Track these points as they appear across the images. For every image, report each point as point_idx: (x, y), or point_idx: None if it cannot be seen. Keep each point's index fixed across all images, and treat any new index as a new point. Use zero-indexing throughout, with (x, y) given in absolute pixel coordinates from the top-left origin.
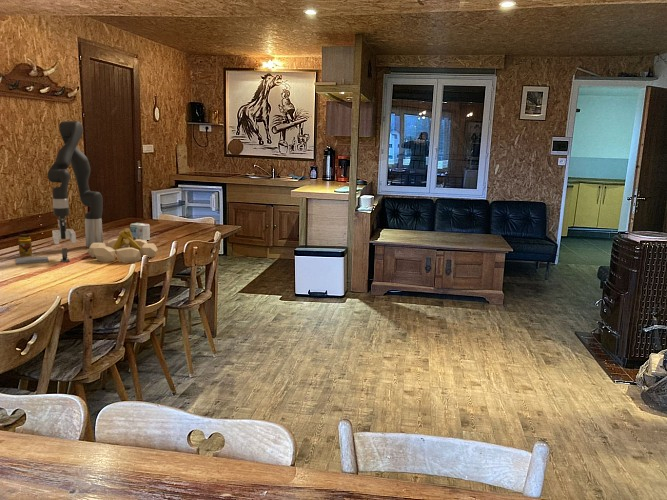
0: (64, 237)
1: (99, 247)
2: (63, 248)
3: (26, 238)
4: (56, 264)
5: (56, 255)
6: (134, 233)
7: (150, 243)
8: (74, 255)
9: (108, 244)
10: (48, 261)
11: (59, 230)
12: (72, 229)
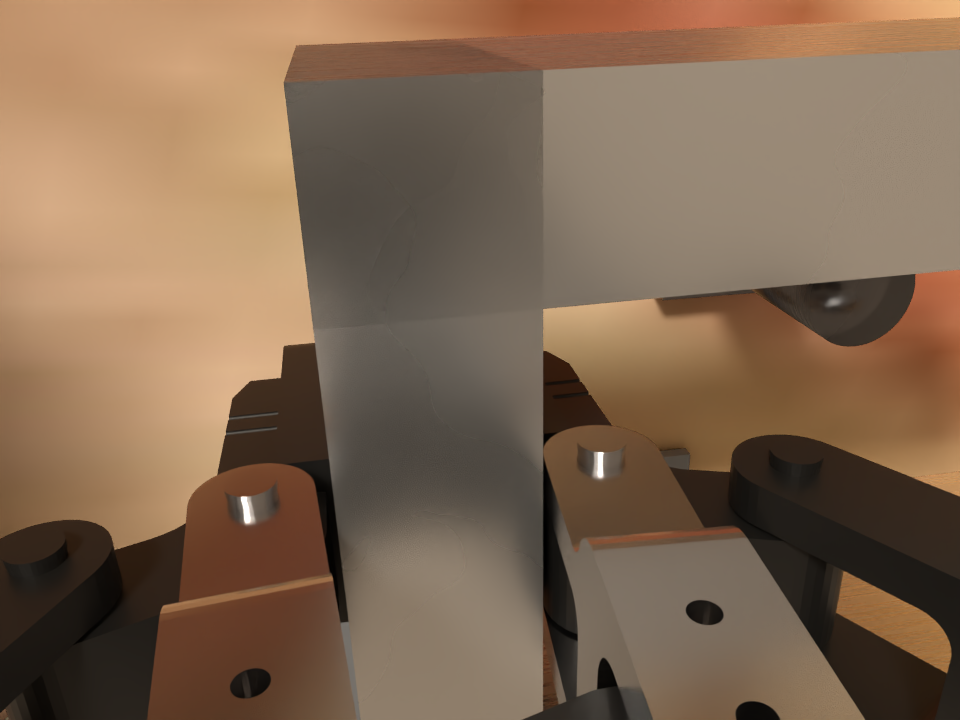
0: (563, 373)
1: None
2: (856, 313)
3: None
4: (877, 345)
5: (136, 361)
6: None
7: None
8: (196, 11)
9: None
10: (687, 462)
11: (540, 688)
12: (532, 103)
